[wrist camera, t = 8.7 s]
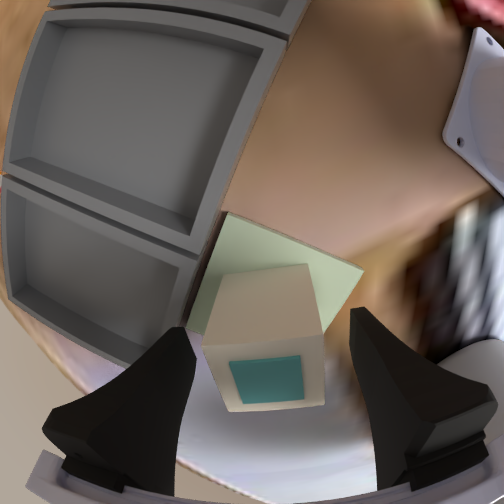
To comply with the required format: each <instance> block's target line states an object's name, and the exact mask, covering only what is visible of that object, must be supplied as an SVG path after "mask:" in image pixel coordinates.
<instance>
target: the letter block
mask: <svg viewBox="0 0 504 504" xmlns="http://www.w3.org/2000/svg"><path fill="white" fill-rule="evenodd" d="M201 348H202V350H203V353H204V355H205V358H206V360H207V363H208V365H209V368H210V370H211V373H212V375H213V377H214V380H215V382H216V384H217V387H218V389H219V391H220V394H221V396H222V398H223V401H224V403H225V405H226V407H227V410H228V412H249V411H269V410H282V409H293V408H303V407H311V406H319V405H325V371H324V337H323V330H322V325H321V320H320V316H319V311H318V306H317V302H316V297H315V293H314V288H313V284H312V280H311V275H310V271H309V267H308V264H301V265H293V266H286V267H278V268H271V269H263V270H256V271H248V272H240V273H232V274H224V275H223V277H222V281H221V284H220V287H219V290H218V293H217V296H216V299H215V302H214V305H213V309H212V312H211V315H210V318H209V321H208V324H207V328H206V331H205V334H204V337H203V340H202V344H201Z"/></svg>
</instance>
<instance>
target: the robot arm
mask: <svg viewBox="0 0 504 504" xmlns="http://www.w3.org/2000/svg"><path fill="white" fill-rule="evenodd" d="M487 41H488V42H487ZM488 43H489V44H488ZM442 135H443V140H444V142H445V143H446V144H447V145H448V146H449V147H450V148H451V149H453V150H454V151H455V152H456V153H457V154H459V155H460V156H461V157H462V158H463V159H464V160H466V161H467V162H468V163H469V164H470V165H471V166H472V167H473V168H475V169H476V170H477V171H478V172H479V173H480V174H481V175H482V176H483V177H484V178H485V179H486V180H487V181H488V182H489V183H490V184H491V185H492V186H493V187H494V188H495V189H496V190H497V191H498V192H499V193H500V194H501V195H502V196H503V197H504V49H503V48H502V47H501V46H500V45H499V44H498V43H497V42H496V41H495V40H494V39H493V38H492V37H491V36H490V35H489V34H488V33H487V32H486V31H485V30H484V29H482V28H481V27H478V28H475V29H474V30H473V35H472V39H471V44H470V48H469V52H468V56H467V59H466V63H465V67H464V70H463V74H462V77H461V81H460V84H459V87H458V90H457V93H456V96H455V99H454V102H453V105H452V108H451V111H450V113H449V116H448V119H447V122H446V124H445V127H444V129H443V134H442ZM458 138H459V139H460V145H459V146H458V145H457V139H458ZM349 346H350V351H351V356H352V361H353V365H354V368H355V371H356V374H357V377H358V380H359V383H360V386H361V389H362V393H363V396H364V399H365V402H366V405H367V409H368V413H369V419H370V424H371V430H372V437H373V444H374V452H375V462H376V475H377V491H375V492H370V493H366V494H361V495H356V496H351V497H345V498H339V499H333V500H325V501H317V502H307V503H295V504H493V503H494V502H496V501H498V500H499V499H501V498H502V497H504V434H503V435H501V436H499V437H497V438H496V439H494V440H492V441H491V442H490V443H488V444H487V445H486V446H485V443H484V441H483V440H484V439H485V438H486V434H485V432H484V430H483V429H484V428H485V427H486V425H487V424H488V423H489V421H490V420H491V419H492V417H493V416H494V414H495V413H496V411H497V408H498V402H497V400H496V398H495V396H494V394H493V392H492V391H491V389H490V388H489V386H488V385H487V384H484V383H481V382H477V381H474V380H471V379H468V378H465V377H462V376H460V375H457V374H455V373H452V372H450V371H448V370H446V369H444V368H442V367H440V366H438V365H436V364H434V363H432V362H431V361H429V360H427V359H426V358H424V357H423V356H421V355H420V354H418V353H417V352H415V351H414V350H412V349H411V348H409V347H408V346H407V345H406V344H404V343H403V342H402V341H401V340H399V339H398V338H397V337H396V336H395V335H394V334H393V333H391V332H390V331H389V330H388V329H387V328H386V327H385V326H384V325H383V324H382V323H381V322H380V321H379V320H378V319H377V318H376V317H374V316H373V315H372V314H371V312H370V311H369V310H367V309H366V308H365V307H359V308H353V309H350V338H349ZM196 361H197V358H196V356H195V353H194V351H193V349H192V346H191V344H190V341H189V339H188V336H187V333H186V331H185V328H184V326H183V327H171V328H170V329H169V330H168V331H167V332H166V333H164V334H163V335H162V336H161V337H160V338H159V339H158V340H157V341H156V342H155V343H154V344H153V345H152V346H151V347H150V348H149V349H148V350H147V351H146V352H145V353H144V354H143V355H142V356H141V357H140V358H139V359H137V360H136V361H135V362H134V363H133V364H132V365H131V366H129V367H128V368H127V369H126V370H125V371H123V372H122V373H121V374H120V375H118V376H117V377H116V378H114V379H113V380H111V381H110V382H108V383H107V384H105V385H104V386H102V387H100V388H99V389H97V390H95V391H94V392H92V393H90V394H88V395H86V396H84V397H82V398H80V399H78V400H75V401H73V402H71V403H68V404H65V405H62V406H60V407H57V408H54V409H52V411H51V413H50V414H49V416H48V418H47V420H46V422H45V423H44V425H43V427H42V430H43V433H44V434H45V436H46V437H47V438H48V439H49V440H50V441H51V442H52V443H53V444H54V445H55V446H57V447H58V448H59V449H60V450H61V451H62V452H63V453H64V454H65V455H67V456H66V458H65V460H64V459H62V458H61V457H59V456H57V455H55V454H53V453H50V452H48V451H46V450H43V451H42V453H41V455H40V457H39V459H38V461H37V463H36V465H35V467H34V469H33V471H32V473H31V475H30V477H29V479H28V481H27V483H26V488H27V489H28V490H30V491H31V492H33V493H35V494H36V495H38V496H39V497H41V498H42V499H44V500H46V501H47V502H49V503H50V504H229V503H216V502H206V501H198V500H190V499H184V498H178V497H174V481H175V479H174V476H175V463H176V452H177V444H178V437H179V431H180V425H181V421H182V417H183V413H184V410H185V407H186V403H187V400H188V397H189V393H190V390H191V387H192V383H193V380H194V375H195V369H196Z"/></svg>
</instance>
